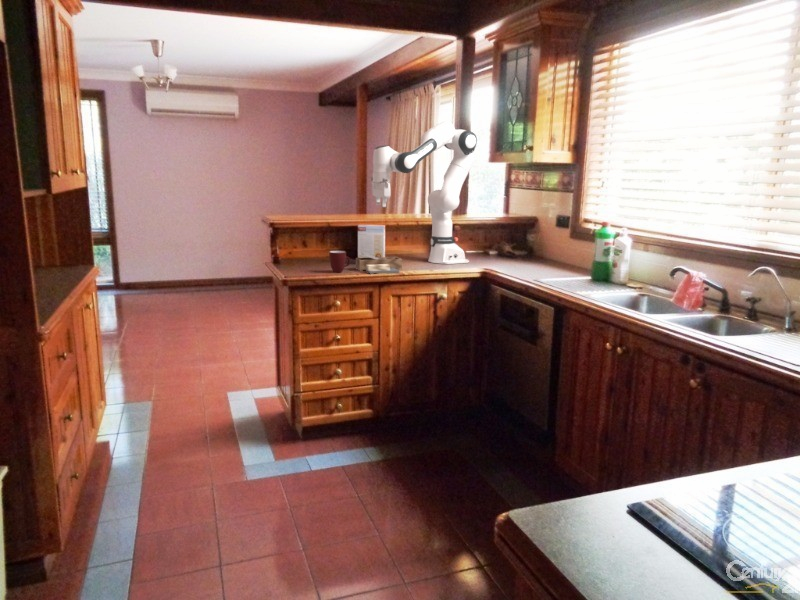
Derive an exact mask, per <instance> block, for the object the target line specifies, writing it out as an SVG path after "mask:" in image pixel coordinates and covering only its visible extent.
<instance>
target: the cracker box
mask: <svg viewBox="0 0 800 600" xmlns="http://www.w3.org/2000/svg"><path fill="white" fill-rule="evenodd" d="M361 252H363V253H366V254H369V255H372V256H374V257H386V224H358V225H357V258H370V257H367V256H364V255H362V254H361Z"/></svg>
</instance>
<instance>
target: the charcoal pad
mask: <svg viewBox="0 0 800 600" xmlns="http://www.w3.org/2000/svg"><path fill="white" fill-rule="evenodd" d="M365 272H366V273H367V272H368V273H367V274H369V273H370V274H369V275H374V274H373V273H387V274H400V270H397V269H395V268H390V270H388V271H367V270H366V271H365Z"/></svg>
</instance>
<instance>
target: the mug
mask: <svg viewBox="0 0 800 600" xmlns="http://www.w3.org/2000/svg"><path fill="white" fill-rule="evenodd" d="M328 257H329V262H330V267H331V270H332V272H333V273H335V274H341V273H343V271H344V269H345V267H348V266H350V264H351V259H350V257H349V256H347V252H346V251H345V250H330V251H329V256H328ZM346 260H347V264H346Z"/></svg>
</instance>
